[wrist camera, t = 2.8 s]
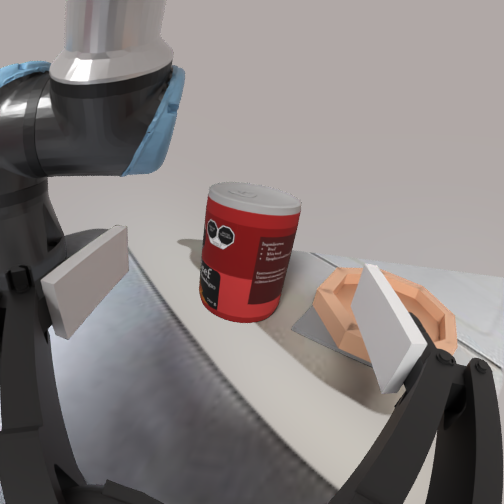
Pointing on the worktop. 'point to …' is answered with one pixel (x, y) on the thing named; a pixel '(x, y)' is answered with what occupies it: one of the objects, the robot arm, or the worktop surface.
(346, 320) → the bowl
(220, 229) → the canned food
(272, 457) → the worktop surface
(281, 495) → the worktop surface
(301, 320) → the mat
